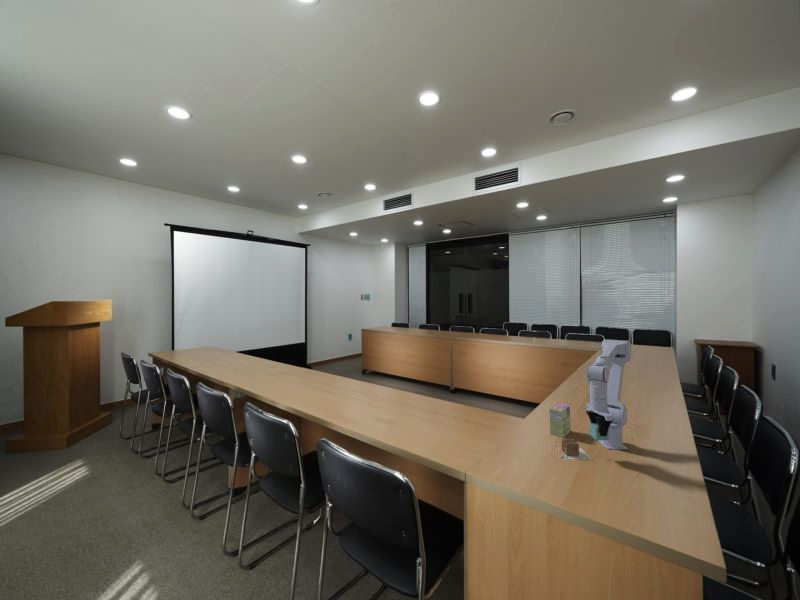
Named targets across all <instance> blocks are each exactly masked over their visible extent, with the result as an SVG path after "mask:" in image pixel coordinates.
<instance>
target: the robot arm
mask: <svg viewBox="0 0 800 600" xmlns="http://www.w3.org/2000/svg"><path fill="white" fill-rule="evenodd" d="M601 350H602V351H601V352H602V354H600V355H598V356H597V358H596V359H595V360H594V362H593V364H591V365H590V366H588V367H587V369H586V378H587V383H588V385H589V402H586V409H587V410H586V412H585V413H586V414H587V416H588V418H589V421H590V423H597V424H598V428H599V434H600V436H607V433H608V429H609V440H596V441H597V442H598V443H600V444H601V445H602V446H603V447H605V449H607V450H629V448H628V447H627V446H626V445H624V434H623V433H624V430H623V427H624V426H625V425H627V422H628V409H627V406H626V405H625V404H623V402H621V394H622V388H623V387H622V386H623V378H624V369H625V366H626V364H627V363H629V362H630V361H631V356H632V350H633V348H632V343H631V341H630V340H619V339H606V338H604V339H603V340H602V342H601Z"/></svg>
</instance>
